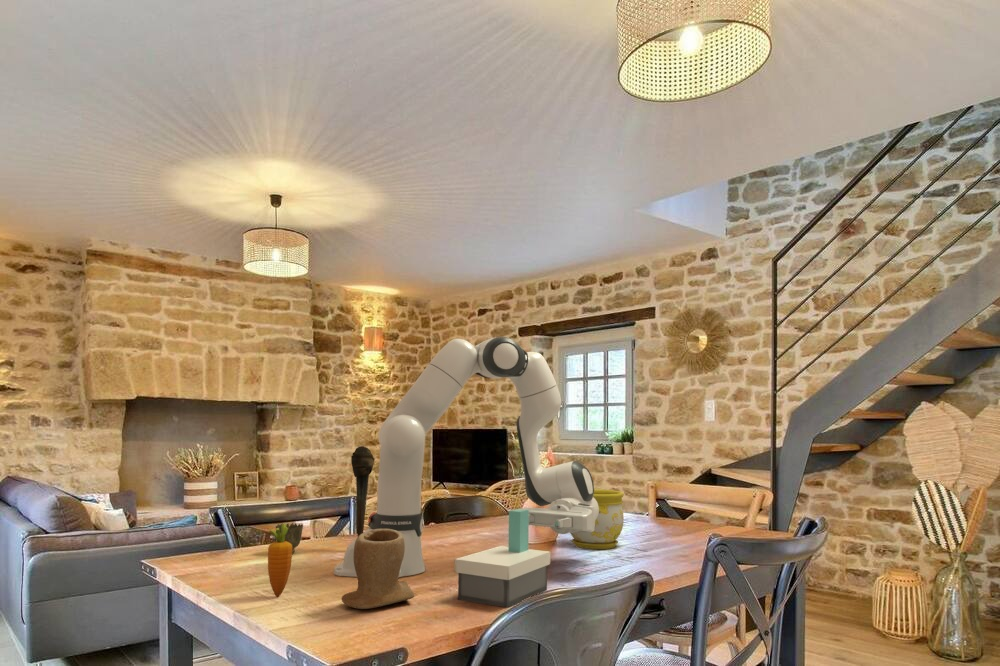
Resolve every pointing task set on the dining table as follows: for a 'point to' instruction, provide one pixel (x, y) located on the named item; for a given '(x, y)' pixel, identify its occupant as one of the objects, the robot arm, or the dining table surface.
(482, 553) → the lid
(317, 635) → the dining table surface
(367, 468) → the decorative torch
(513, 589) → the tub
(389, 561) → the brown boot-shaped piece
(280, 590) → the carrot
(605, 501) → the flowerpot
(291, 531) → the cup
